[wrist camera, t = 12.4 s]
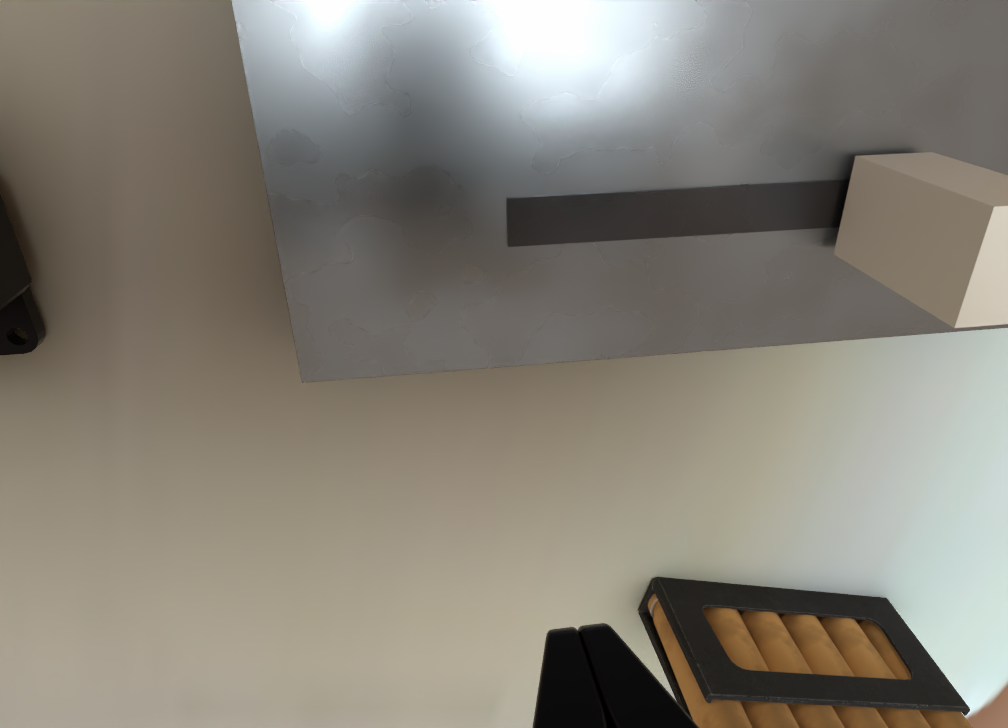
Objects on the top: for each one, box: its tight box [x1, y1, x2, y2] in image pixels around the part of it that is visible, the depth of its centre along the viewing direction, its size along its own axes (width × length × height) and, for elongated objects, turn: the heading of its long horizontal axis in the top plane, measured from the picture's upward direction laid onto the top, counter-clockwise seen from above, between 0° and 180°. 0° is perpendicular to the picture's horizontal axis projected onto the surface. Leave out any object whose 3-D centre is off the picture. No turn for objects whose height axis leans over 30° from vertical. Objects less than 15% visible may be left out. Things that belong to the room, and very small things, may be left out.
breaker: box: [834, 152, 1008, 328], centre depth 15 cm, size 2×2×4 cm
